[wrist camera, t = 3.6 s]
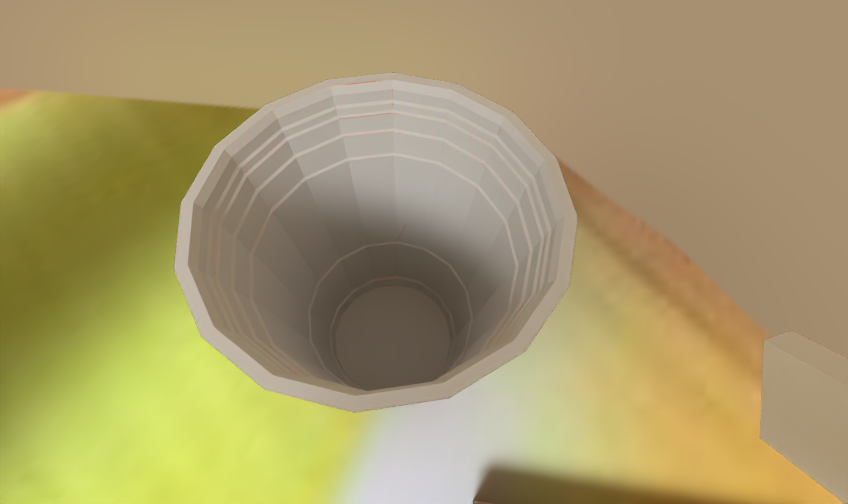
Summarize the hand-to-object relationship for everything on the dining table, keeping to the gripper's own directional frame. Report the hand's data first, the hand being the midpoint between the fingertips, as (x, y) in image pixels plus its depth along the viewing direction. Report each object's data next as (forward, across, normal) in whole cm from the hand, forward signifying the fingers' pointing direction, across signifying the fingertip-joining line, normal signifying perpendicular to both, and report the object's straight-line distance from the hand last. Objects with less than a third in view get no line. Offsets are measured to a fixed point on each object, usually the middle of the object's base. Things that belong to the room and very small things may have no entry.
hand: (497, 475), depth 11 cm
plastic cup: (+14, -1, -3) cm, 14 cm away
